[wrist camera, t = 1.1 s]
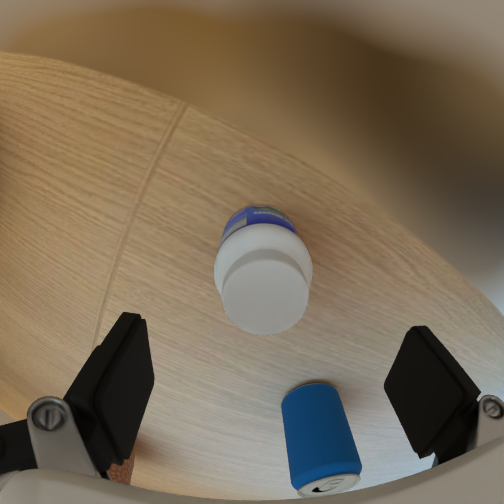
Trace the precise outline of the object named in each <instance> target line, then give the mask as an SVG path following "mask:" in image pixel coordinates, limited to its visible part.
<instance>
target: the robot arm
mask: <svg viewBox="0 0 504 504" xmlns="http://www.w3.org/2000/svg"><path fill="white" fill-rule="evenodd" d="M153 386H154V372H153V366H152V360H151V353H150V347H149V340H148V332H147V324H146V320H145V319H141V316H140V314H135V313H129V312H123V313H122V314H121V316H120V317H119V318H118V320H117V321H116V323H115V324H114V326H113V327H112V329H111V330H110V332H109V333H108V334H107V336H106V337H105V339H104V340H103V342H102V343H101V345H99V346H97V347H96V348H95V349H94V351H93V352H92V354H91V355H90V357H89V358H88V360H87V361H86V363H85V364H84V366H83V367H82V369H81V370H80V372H79V374H78V375H77V377H76V378H75V380H74V382H73V383H72V385H71V386H70V388H69V390H68V391H67V393H66V395H65V396H64V398H63V400H62V399H60V398H58V397H54V396H46V397H42V398H39V399H37V400H36V401H34V402H33V403H32V404H31V406H30V407H29V409H28V412H27V419H24V420H20V421H17V422H13V423H9V424H5V425H1V426H0V504H504V403H503V401H502V400H501V399H499V398H498V397H496V396H494V395H485V396H483V397H482V398H481V399H480V400H479V402H478V401H477V400H476V399H477V398H478V396H479V395H480V393H481V391H480V390H479V389H478V387H477V386H476V385H475V383H474V382H473V381H472V380H471V378H470V377H469V376H468V374H467V373H466V372H465V371H464V369H463V368H462V367H461V366H460V365H459V363H458V362H457V361H456V360H455V358H454V357H453V356H452V355H451V354H450V352H449V351H448V350H447V349H446V348H445V347H444V345H443V344H442V343H441V342H440V341H439V340H438V338H437V337H436V336H435V335H434V334H433V333H432V332H431V330H430V329H429V328H428V327H427V326H413V327H411V328H410V330H409V331H408V332H407V333H406V335H405V338H404V340H403V342H402V345H401V347H400V350H399V352H398V354H397V356H396V359H395V361H394V363H393V365H392V367H391V369H390V372H389V374H388V376H387V378H386V380H385V382H384V390H385V392H386V394H387V396H388V398H389V400H390V402H391V404H392V406H393V408H394V410H395V412H396V414H397V416H398V418H399V420H400V423H401V425H402V427H403V429H404V431H405V433H406V435H407V438H408V440H409V442H410V444H411V446H412V448H413V450H414V452H415V453H417V454H418V456H419V458H420V459H421V458H424V457H427V456H430V455H431V454H432V453H433V452H434V453H435V458H434V461H433V465H432V468H430V469H427V470H425V471H422V472H419V473H416V474H414V475H411V476H408V477H404V478H401V479H398V480H395V481H391V482H388V483H384V484H380V485H377V486H373V487H368V488H364V489H360V490H355V491H350V492H345V493H339V494H333V495H326V496H319V497H310V498H300V499H287V500H263V501H247V500H223V499H210V498H200V497H192V496H184V495H177V494H171V493H165V492H159V491H154V490H149V489H145V488H140V487H136V486H132V485H128V484H123V483H119V482H115V481H113V480H112V478H111V476H110V474H109V472H108V470H110V467H111V464H116V465H119V466H122V465H123V462H124V459H126V460H128V459H129V458H130V456H131V453H132V449H133V446H134V443H135V440H136V437H137V433H138V430H139V427H140V424H141V421H142V418H143V415H144V412H145V409H146V406H147V403H148V400H149V397H150V394H151V391H152V389H153Z"/></svg>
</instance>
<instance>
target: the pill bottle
mask: <svg viewBox="0 0 504 504" xmlns="http://www.w3.org/2000/svg"><path fill="white" fill-rule="evenodd" d="M312 276H313V266H312V260H311V257H310V254H309V252H308V250H307V248H306V246H305V244H304V243H303V241H302V239H301V237H300V236H299V234H298V232H297V231H296V229H295V227H294V226H293V224H292V222H291V221H290V219H289V218H288V217H287V216H286V215H285V214H284V213H283V212H282V211H281V210H279V209H278V208H276V207H273V206H271V205H267V204H253V205H249V206H246V207H244V208H242V209H240V210H239V211H237V212H236V213H235V214H234V215H233V216H232V217H231V218H230V220H229V221H228V223H227V224H226V227H225V229H224V232H223V235H222V238H221V242H220V245H219V248H218V252H217V255H216V259H215V264H214V280H215V284H216V288H217V290H218V292H219V294H220V296H221V297H222V304H223V308H224V311H225V313H226V315H227V317H228V318H229V320H230V321H231V322H232V323H233V324H234V325H235V326H237V327H238V328H239V329H241V330H243V331H245V332H247V333H250V334H254V335H262V336H269V335H275V334H279V333H282V332H284V331H286V330H288V329H290V328H291V327H293V326H294V325H295V324H296V323H298V322H299V321H300V319H301V318H302V317H303V315H304V314H305V312H306V310H307V307H308V303H309V288H310V285H311V281H312Z"/></svg>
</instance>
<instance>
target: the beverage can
mask: <svg viewBox="0 0 504 504" xmlns="http://www.w3.org/2000/svg"><path fill="white" fill-rule="evenodd" d="M281 408H282V415H283V423H284V431H285V438H286V446H287V454H288V462H289V469H290V477H291V484H292V486H293V487H294V488H295V489H296V490H297V491H298V495H299V496H300V497H302V498H310V497H319V496H326V495H333V494H338V493H341V492H344V491H346V490H348V489H350V488H352V487H354V486H355V485H356V484H358V483H359V481H360V476H359V475H360V472H361V470H362V464H361V461H360V458H359V455H358V452H357V448H356V445H355V442H354V439H353V436H352V433H351V430H350V427H349V424H348V421H347V418H346V415H345V412H344V409H343V406H342V403H341V400H340V397H339V394H338V392H337V390H336V389H335V388H334V387H332V386H331V385H328V384H321V383H311V384H306V385H303V386H300V387H298V388H296V389H295V390H293V391H291V392H290V393H289V394H288V395H287V396H286V397H285V398H284V399H283V401H282V405H281Z"/></svg>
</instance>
